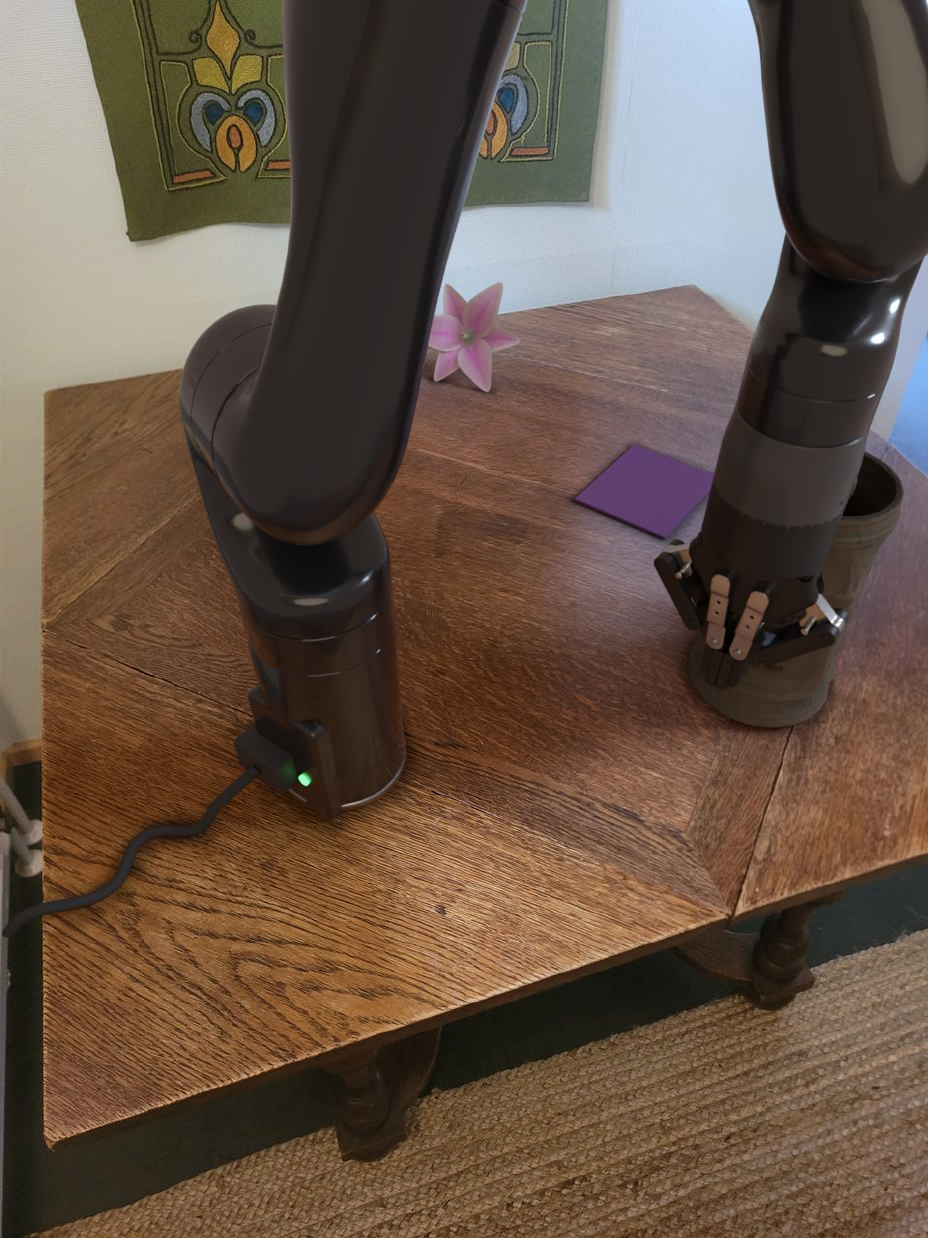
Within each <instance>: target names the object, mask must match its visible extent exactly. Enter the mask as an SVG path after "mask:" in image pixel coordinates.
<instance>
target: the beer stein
mask: <svg viewBox="0 0 928 1238" xmlns="http://www.w3.org/2000/svg"><path fill="white" fill-rule="evenodd" d="M857 478H858V479H857V484H856V487H855V490H854V493H853V495H852V496H851V497H850V498H849V500H848V502H847V505H846V508H845V510H844V513H843V515H842V518H841V521H840V523H839V526H838V529H837V531H836V534H835V537H834V539H833V542H832V545H831V547H830V550H829V552H828V555H827V558H826V560H825V563H824V566H823V577H824V580H825V588H824V591H823V593H822V596H823V597H824V598H825V599H826V601H827V602H828V603H829V605H830V606H831V607H832V609H833V608H841V609H843V610H845V611H846V612H847V613H848V615H849V620H848V622H847V623H846V625H845V627H844V629H843V630H842V632H841V634H840V635H839V637H838V638H837V639H836V641H835V643H834V644H833V645H831V646H828V647H825V648H822V649H819V650H816V651H813V652H810V653H806V654H803V655H800V656H797V657H794V658H791V659H788V660H785V661H782V662H779V663H776V664H773V665H770V666H765V665H763V664H761V663H759V662H758V660H757V659H756V658H751V659H750V662H749V665H748V668H747V671H746V673H745V675H744V676H743V678H742V679H741V680H740V682H739V683H738V685H736V686H735V687H734V688H732V687H730V686H728V687H727V688H726V689H725V691H722V690H720V689H718V688H716V687H715V686H712V685H710V684H708V683H706V682H705V679H706V676H707V675H706V674H704V673H702V672H701V668H700V666H701V662H702V659H703V655H704V651H705V648H706V644H707V642H706V638H705V636H704V635H703V634H702V633H701V632H700V631H698V639H697V641H696V642H695V644H694V645H693V647H692V649H691V652H690V656H689V659H688V672H689V676H690V680H691V682H692V685H693V687H694V688H695V690H696V692H697V693H698V694H699V695H700V697H701V698H702V699H703V700H704V701H705V702H706V703H707V704H708V705H710V707H712V708H713V709H714V710H716V711H718V712H719V713H720V714H722V715H724V716H725V717H727V718H730V719H732V720H734V721H736V722H738V723H742V724H745V725H748V726H754V727H761V728H782V727H792V726H793V727H794V726H795V725H799V724H802V723H804V722H807V721H808V720H810V719H811V718H813V717H814V716H815V715H816V714H817V713H818V712H820V710H821V708H822V707H823V705H824V704H825V702H826V701H827V697H828V693H829V685H830V682H831V681H832V680H833V678H834V677H835V674H836V669H837V662H838V661H837V660H838V655H839V652H840V649H841V647H842V644H843V642H844V639H845V636H846V634H847V631H848V628H849V626H850V623H851V621H852V618H853V615H854V613H855V609H856V608H857V605H858V602H859V599H860V597H861V595H862V592H863V589H864V587H865V585H866V582H867V579H868V577H869V575H870V572H871V570H872V567H873V565H874V563H875V560H876V558H877V555H878V552H879V551H880V550H881V547H882V546H883V544H884V543H885V541H886V540H887V538H888V537H889V536H890V535H891V534H892V533H893V532H894V530H895V529H896V527H897V525H898V523H899V520H900V518H901V514H902V512H901V510H902V506H903V505H902V504H903V501H904V496H905V491H904V486H903V483H902V480H901V479H900V477H899V476H898V475H897V473H896V471H894V469H893V468H892V467H891V466H889V465H888V464H887V463H886V462H884V461H883V460H881V459H880V458H879V457H877V456H875V455H873V454H872V453H870V452H867V451H866V450H865V452H864V456H863V460H862V464H861V468H860V471H859V473H858V476H857ZM805 613H806V609H804V610H802V611H800V612H797V613H795V614H793V615H790V616H788V617H786V618H783V619H781V620H779V621H776V622H774V623H767V624H766V626H765V628H764V630H763V632H768V633H771V632H772V631H774V630H776V629H779V628H782V627H784V626H787V625H790V624H793V623H795V622H798V621H800V620H801V619H802V617H803V616H804V614H805ZM740 619H741V616H739V621H740ZM739 621H738V624H739ZM735 631H736V629H735V630H734V633H735ZM735 634H736V633H735Z"/></svg>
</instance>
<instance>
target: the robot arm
mask: <svg viewBox="0 0 928 1238" xmlns="http://www.w3.org/2000/svg"><path fill="white" fill-rule="evenodd" d="M528 1H529V0H281V35H282V36H281V37H282V38H281V40H282V41H281V42H282V58H283V60H282V61H283V76H284V79H283V80H284V95H285V96H284V97H285V111H286V126H287V139H288V153H289V154H288V155H289V172H290V173H289V174H290V193H291V194H290V225H289V235H288V245H287V253H286V258H285V263H284V269H283V276H282V280H281V285H280V288H279V293H278V297H277V301H276V304H269V303H268V304H267V303H265V304H264V303H263V304H253V305H249V306H244V307H241V308H237V309H234V310H232V311H230V312H227V313H226V314H224V315H223V316H220V317H219V318H218V319H216V320H214V322H213V323H211V324H210V325H209V326H208V327H207V328H206V329H205V330H204V331H203V332H202V334H200V335H199V337H198V338H197V340H196V341H195V342H194V343H193V345H192V348H191V349H190V351H189V353H188V355H187V357H186V360H185V362H184V365H183V369H182V371H181V377H180V382H179V393H178V394H179V396H178V399H179V411H180V419H181V424H182V429H183V434H184V437H185V440H186V445H187V449H188V452H189V456H190V460H191V463H192V467H193V471H194V474H195V477H196V481H197V484H198V489H199V491H200V494H201V495H200V496H201V499H202V502H203V505H204V509H205V512H206V516H207V519H208V523H209V526H210V530H211V533H212V536H213V540H214V542H215V545H216V548H217V550H218V553H219V556H220V558H221V560H222V562H223V565H224V567H225V570H226V573H227V574H228V576H229V579H230V582H231V584H232V588H233V590H234V594H235V598H236V602H237V605H238V609H239V613H240V618H241V622H242V625H243V629H244V633H245V637H246V641H247V642H246V643H247V647H248V650H249V654H250V658H251V662H252V665H253V670H254V674H255V679H256V681H257V685H255V686H253V687H252V688H251V690H249V692H248V693H247V700H248V704H249V707H250V711H251V715H252V720H253V723H252V724H251V725H249V727H248V728H246V729H245V730H244V731H243V732H242V733H241V734H240V735H238V736H237V737H236V738H234V740H233V741H232V743H233V746H234V749H235V752H236V757H237V760H238V763H239V765H240V767H242V768H243V769H244V770H245V771H244V772H243V773H242V774H241V775H240V776H239V777H237V778H236V779H235V780H234V781H233V782H232V783H231V784H230V785H228V786H227V787H226V788H225V789H224V790H223V791H222V792H221V793H220V794H219V795H218V796H217V797H216V798H215V799H214V800H212V802H211V803H210V804H209V805H208V807H207V808H206V811H205V813H204V815H203V816H202V818H201V819H200V820H199V821H197V822H196V823H194V824H187V825H181V824H180V825H179V824H157V825H153V826H150V827H147V828H144V829H143V830H141V831H140V832H138V833H137V834H136V835H135V836H134V837H133V838H132V839H131V840H130V841H129V843H128V844H127V846H126V848H125V849H124V851H123V854H122V857H121V859H120V863H119V865H118V867H117V869H116V871H115V873H114V875H113V876H112V878H111V879H110V880H109V881H107V882H106V883H105V884H103V885H102V886H100V887H99V888H97V889H95V890H93V891H91V892H88V893H85V894H81V895H77V896H72V897H67V898H61V899H56V900H55V899H54V900H50V901H44V902H41V903H38V904H34V905H32V906H29V907H27V908H26V909H24V910H22V911H20V912H18V913H17V914H16V915H15V916H13V917H12V918H11V919H10V920H9V922H7V923H6V924H5V926H4V928H3V929H2V933H1V936H2V937H3V938H9V937H12V936H14V935H15V934H16V933H18V931H19V930H20V929H21V928H22V927H23V926H24V925H26V923H28V922H29V921H32V920H33V919H36V918H39V917H42V916H43V917H44V916H47V915H52V914H57V913H64V912H69V911H74V910H79V909H82V908H86V907H89V906H92V905H95V904H97V903H99V902H102V901H104V900H106V899H107V898H109V897H110V896H111V895H113V894H115V892H117V891H118V890H119V889H120V888H121V886H123V884H124V883H125V881H126V880H127V878H128V876H129V875H130V872H131V869H132V868H133V864H134V861H135V859H136V857H137V854H138V853H139V850H140V849H141V847H142V846H143V845H144V844H145V843H147V842H148V841H150V840H151V839H154V838H159V837H177V838H178V837H179V838H184V837H185V838H186V837H193V836H196V835H197V836H198V835H200V834H202V833H204V832H206V831H207V830H208V829H209V828H211V826H212V825H213V823H214V821H215V819H216V817H217V815H218V814H219V813H220V812H221V811H222V809H223V808H224V807H225V806H227V804H229V802H230V801H231V800H232V799H234V798H235V797H236V796H237V795H238V794H240V792H241V791H243V790H244V789H245V788H246V787H247V786H248V785H249V784H251V783H252V782H253V781H254V780H255V779H256V778H257V779H259V780H260V781H261V782H262V783H264V784H265V785H267V786H268V787H270V789H273V790H274V791H275V792H276V793H278V794H279V795H281V796H283V795H285V794H286V792H287V793H289V795H291V796H292V798H294V799H295V800H296V801H298V802H299V803H301V804H303V805H304V806H306V807H308V808H309V809H310V810H312V811H313V812H315V813H316V814H317V815H319V816H320V817H322V818H323V819H324V820H326V821H328V822H331V821H334V820H335V819H336V818H337V817H338V816H339V815H340V814H341V813H343V812H347V811H353V810H358V809H361V808H364V807H366V806H369V805H371V804H373V803H375V802H377V801H378V800H380V799H381V798H383V797H384V796H386V795H387V794H388V793H389V792H390V791H391V790H392V789H393V788H394V787H395V786H396V784H397V783H398V781H400V779H401V777H402V775H403V773H404V770H405V767H406V763H407V756H408V755H407V754H408V753H407V743H406V737H405V733H404V719H406V715H405V709H404V708H403V707H402V694H401V683H400V670H399V657H398V656H399V655H398V646H397V645H398V644H397V631H396V619H395V618H396V617H395V605H394V604H395V603H394V591H393V576H392V563H391V555H390V549H389V545H388V541H387V538H386V535H385V533H384V531H383V529H382V526H381V524H380V522H379V520H378V519H377V516H376V514H375V510H376V509H377V508H378V507H379V506H380V504H381V503H382V502H383V501H384V499H385V497H386V496H387V494H388V492H389V491H390V489H391V487H392V486H393V484H394V481H395V480H396V478H397V475H398V473H399V471H400V468H401V466H402V463H403V460H404V457H405V454H406V450H407V447H408V443H409V440H410V435H411V431H412V427H413V423H414V418H415V413H416V408H417V404H418V403H417V402H418V397H419V393H420V388H421V384H422V383H421V382H422V378H423V373H424V367H425V362H426V357H427V353H428V348H429V346H428V343H429V338H430V333H431V328H432V323H433V319H434V316H435V314H436V310H437V305H438V300H439V296H440V292H441V288H442V285H443V280H444V275H445V271H446V269H447V264H448V260H449V257H450V255H451V250H452V246H453V243H454V239H455V237H456V233H457V229H458V226H459V224H460V223H459V222H460V220H461V215H462V213H463V209H464V206H465V203H466V200H467V196H468V193H469V189H470V185H471V182H472V179H473V176H474V172H475V168H476V165H477V161H478V157H479V154H480V150H481V148H482V144H483V140H484V136H485V133H486V130H487V126H488V123H489V120H490V116H491V113H492V109H493V106H494V104H495V99H496V96H497V93H498V90H499V87H500V84H501V81H502V78H503V75H504V73H505V70H506V67H507V63H508V61H509V58H510V55H511V53H512V50H513V47H514V44H515V41H516V38H517V36H518V33H519V30H520V26H521V24H522V21H523V14H525V11H526V7H527V4H528ZM746 1H747V4H748V7H749V10H750V14H751V17H752V21H753V25H754V28H755V33H756V39H757V44H758V45H757V46H758V51H759V62H760V63H759V65H760V81H761V93H762V101H763V111H764V121H765V132H766V140H767V149H768V156H769V163H770V171H771V179H772V183H773V190H774V194H775V199H776V203H777V208H778V213H779V215H780V219H781V222H782V225H783V228H784V231H785V233H784V237H783V242H782V246H781V251H780V255H779V260H778V264H777V269H776V273H775V278H774V281H773V285H772V288H771V291H770V293H769V296H768V299H767V302H766V303H765V306H764V308H763V310H762V313H761V315H760V317H759V320H758V322H757V325H756V327H755V330H754V333H753V335H752V339H751V342H750V345H749V348H748V352H747V358H746V361H745V365H744V368H743V372H742V377H741V381H740V385H739V390H738V392H737V398H736V401H735V405H734V407H733V411H732V412H731V414H730V415H731V416H730V418H729V419H728V422H727V424H726V427H725V430H724V433H723V437H722V440H721V443H720V448H719V452H718V456H717V460H716V464H715V469H714V473H713V475H714V476H713V481H712V485H711V489H710V491H709V492H708V493H709V494H708V498H707V503H706V506H705V510H704V513H703V514H704V515H703V519H702V522H701V527H700V531H699V532H698V533H697V535H696V536H695V537H694V538H693V539H691V541H690V542H687V543H685V542H684V541H683V540H681V539H679V538H674V539H671V541H670V542H669V543H668V544H667V545H666V546H665V547H664V549H663V550H662V551H661V552H660V553H659V554H658V555H657V557H655V559H654V560H653V566H654V568H655V570H656V572H657V575H658V576H659V578H660V580H661V582H662V584H663V586H664V588H665V590H666V592H667V594H668V596H669V598H670V600H671V601H672V604H673V605H674V607H675V610H676V611H677V613H678V615H679V617H680V619H681V621H682V623H683V625H684V627H685V628H686V629H687V630H689V631H691V632H701V633H702V634H703V635H704V636H705V638H706V642H707V644H706V648H705V651H704V655H703V659H702V662H701V666H700V668H701V672H702V673H704V674H706V675H707V676H706V679H705V682H706V683H708V684H710V685H712V686H715V687H716V688H718V689H720V690H722V691H725V689H726V688H727V687H728V686H730V687H732V688H734V687H735V686H736V685H738V683H739V682H740V680H741V679H742V678H743V676H744V675H745V673H746V671H747V668H748V665H749V662H750V659H751V658H756V659H757V660H758V662H759V663H761V664H763V665H765V666H770V665H773V664H776V663H779V662H782V661H785V660H788V659H791V658H794V657H797V656H800V655H803V654H806V653H810V652H813V651H816V650H819V649H822V648H825V647H828V646H831V645H833V644H834V643H835V641H836V639H837V638H838V637H839V635H840V634H841V632H842V630H843V629H844V627H845V625H846V623H847V622H848V620H849V615H848V613H847V612H846V611H845V610H843V609H841V608H833V609H832V607H831V606H830V605H829V603H828V602H827V601H826V599H825V598H824V597H823V596H822V593H823V591H824V588H825V580H824V577H823V566H824V563H825V560H826V558H827V555H828V552H829V550H830V547H831V545H832V542H833V539H834V537H835V534H836V531H837V529H838V526H839V523H840V521H841V518H842V515H843V513H844V510H845V508H846V505H847V502H848V500H849V498H850V497H851V496H852V495H853V493H854V490H855V487H856V484H857V479H858V478H857V476H858V473H859V471H860V468H861V464H862V460H863V456H864V452H865V451H866V446H867V441H868V436H869V434H870V429H871V426H872V424H873V422H874V419H875V416H876V413H877V411H878V408H879V405H880V403H881V400H882V397H883V395H884V392H885V389H886V387H887V384H888V382H889V379H890V375H891V373H892V370H893V366H894V364H895V359H896V355H897V351H898V346H899V343H900V342H899V341H900V335H901V331H902V330H901V328H902V323H903V317H904V313H905V310H906V306H907V303H908V301H909V298H910V295H911V292H912V290H913V287H914V286H915V282H916V280H917V278H918V275H919V273H920V270H921V267H922V264H923V262H924V259H925V258H926V257H927V256H928V0H746ZM804 609H806V613H805V614H804V616H803V617H802V619H801V620H800V621H798V622H795V623H793V624H790V625H787V626H784V627H782V628H779V629H776V630H774V631H772V632H771V633H768V632H763V630H764V628H765V626H766V624H767V623H774V622H776V621H779V620H781V619H783V618H786V617H788V616H790V615H793V614H795V613H797V612H800V611H802V610H804ZM739 616H741V619H740V621H739ZM738 621H739V624H738ZM735 629H736V631H735V633H736V634H735V633H734V630H735Z"/></svg>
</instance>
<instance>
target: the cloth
mask: <svg viewBox="0 0 928 1238" xmlns="http://www.w3.org/2000/svg"><path fill="white" fill-rule="evenodd" d="M713 476H714V473H713V474H712V473H710V472H707V471H705V470H702V469H700V468H697V467H695V466H692V465H689V464H686V463H684V462H682V461H678V460H676V459H673V458H670V457H668V456H665V455H663V454H660V453H658V452H655V451H653V450H650V449H647V448H645V447H642V446H639V445H638V444H633V445H632V446H630V448H629V449H627V450H626V451H625V452H624V453H623V454H622V455H621V456H620V457H619V458H617V459H616V460H615V461H614V462H613V463H612V464H611V465H610V466H609V467H607V468H606V469H605V470H604V471H603V472H602V473H601V474H600V475H599V476H598V477H596V478H595V479H594V480H593V481H592V482H591V483H590V484H589V485H587V487H586V488H585V489H583V490H582V491H581V492H580V493H579V494H578V495H577V496H576V497H574V502H577V503H578V504H581V505H583V506H586V507H588V508H589V509H593V510H595V511H598V512H600V513H602V514H604V515H606V516H609V517H612V518H614V519H616V520H618V521H621V522H623V523H626V524H628V525H630V526H632V527H634V528H637V529H640V530H641V531H644V532H646V533H649V534H651V535H653V536H656V537H658V538H661V539H663V540H666V539H667V537H669V536H670V534H671V533H672V532H673V531H674V530H675V529H676V528H677V527H678V526H679V525H680V524H681V523H682V522H683V520H684V519H685V518H687V516H689V514H690V513H691V512H692V511H693V509H695V508H696V506H698V505H699V503H700V502H701V501H702V500H703V499H704V498H705V496H707V495H708V493H710V489H711V485H712V481H713Z"/></svg>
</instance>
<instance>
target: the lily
mask: <svg viewBox="0 0 928 1238" xmlns="http://www.w3.org/2000/svg"><path fill="white" fill-rule="evenodd" d="M503 292H504V284H503V282H496V283H494V284H492V285H490V286H488V287H486V288H485V289H483V290H482V291H480V292H478V293H477V294H476V295H474V296H472V297H471V298H470V299H469V300H468V301H466V299H465V298H464V297H463V295H461V294H460V293H459V291H457V290H456V289H455V288H454V287H453V286H451V285H450V284H449V283H445V284H444V286H443V292H442V309H443V311H442V312H443V314H438V315H434V319H433V323H432V328H431V333H430V338H429V343H428V347H430V348H432V349H434V350H437V351H439V352H438V355H437V359H436V362H435V366H434V373H433V381H434V382H439V381H441V380H443V379H445V378H447V377H449V376H450V375H451V374H453V373H454V372H456V371H457V370H458V369H459V368H460V369H461V371H462V372H463V373H464V374H465V375H466V377H468V378H469V380H470V381H471V382H473V384H474V385H476V387H478V388H479V389H481V390H482V391H483V392H487V393H489V392H490V390H491V388H492V377H493V376H492V374H493V373H492V371H493V355H492V353H494V352H498V351H502V350H505V349H509V348H510V347H513V346H516V345H518V344H519V343H520V342H521V340H520V338H519V337H518V336H516V335H515V334H514V333H512V332H511V331H509V330H507V329H505V328H503V327H501V326H500V325H497V324H496V321H497V319H498V314H499V310H500V307H501V306H500V305H501V302H502V297H503Z"/></svg>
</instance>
